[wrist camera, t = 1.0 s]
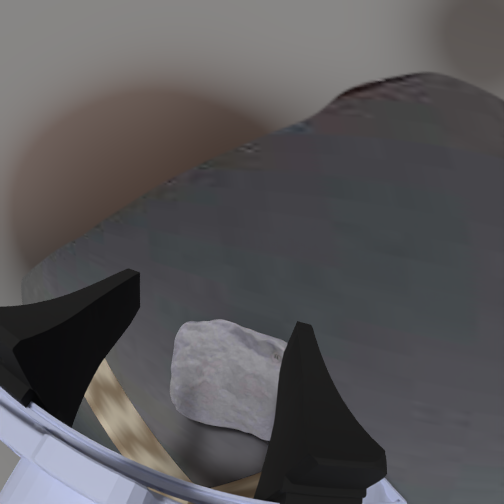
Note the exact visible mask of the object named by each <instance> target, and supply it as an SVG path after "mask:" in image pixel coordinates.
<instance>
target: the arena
mask: <svg viewBox="0 0 504 504" xmlns="http://www.w3.org/2000/svg"><path fill="white" fill-rule="evenodd" d="M84 396H85V398H86V400H87V401H88V403H89V405H90V406H91V408H92V410H93V412H94V413H95V415H96V416H97V418H98V420H99V421H100V423H101V424H102V426H103V428H104V429H105V431H106V432H107V434H108V435H109V437H110V438H111V440H112V441H113V443H114V444H115V445H116V447H117V448H118V450H119V451H120V452H121V454H122V455H123V456H124V457H126V458H128V459H131V460H133V461H135V462H137V463H140V464H142V465H144V466H147V467H149V468H152V469H154V470H157V471H159V472H162V473H164V474H167V475H170V476H173V477H175V478H178V479H181V480H184V481H187V482H190V483H192V482H191V480H190V479H189V478H188V477H187V476H186V475H185V474H184V472H183V471H182V470H181V469H180V468H179V467H178V465H177V464H176V463H175V462H174V461H173V459H172V458H171V457H170V456H169V454H168V453H167V452H166V451H165V449H164V448H163V447H162V445H161V444H160V443H159V442H158V440H157V439H156V438H155V436H154V435H153V433H152V432H151V431H150V429H149V428H148V427H147V425H146V424H145V422H144V421H143V419H142V418H141V417H140V415H139V414H138V412H137V411H136V409H135V408H134V406H133V405H132V403H131V402H130V400H129V399H128V397H127V395H126V394H125V392H124V391H123V389H122V387H121V386H120V384H119V382H118V381H117V379H116V377H115V376H114V374H113V372H112V371H111V369H110V367H109V365H108V363H107V362H106V360H105V358H104V360H103V361H102V363H101V364H100V366H99V368H98V370H97V371H96V373H95V375H94V377H93V379H92V381H91V383H90V385H89V387H88V389H87V391H86V393H85V395H84ZM260 476H261V472H260V473H257V474H255V475H252V476H249V477H246V478H243V479H240V480H237V481H234V482H230V483H227V484H224V485H220V486H217V487H213V488H210V489H214V490H218V491H221V492H225V493H230V494H234V495H238V496H243V497H247V498H252V499H253V498H254V495H255V492H256V489H257V485H258V482H259V479H260ZM148 488H149V487H148ZM149 489H150V490H152V491H154V492H156V493H158V494H161V495H163V496H165V497H168V498H170V499H173V500H175V501H178V502H180V503H183V504H195V503H191V502H188V501H185V500H182V499H179V498H176V497H173V496H170V495H167V494H165V493H162V492H159V491H157V490H154V489H152V488H149Z"/></svg>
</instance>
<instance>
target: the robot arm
mask: <svg viewBox="0 0 504 504" xmlns="http://www.w3.org/2000/svg"><path fill="white" fill-rule="evenodd" d="M139 308H140V272H137V271H134V270H131V269H126V270H124V271H121V272H119V273H117V274H115V275H112V276H110V277H108V278H106V279H104V280H102V281H99V282H97V283H95V284H93V285H90V286H88V287H86V288H83V289H81V290H78V291H76V292H73V293H71V294H68V295H65V296H62V297H58V298H55V299H51V300H47V301H43V302H38V303H34V304H28V305H21V306H8V307H0V440H1V441H2V442H3V443H4V444H5V445H6V446H8V447H9V448H10V449H11V450H12V451H13V452H14V453H16V454H17V455H18V456H19V457H20V458H21V459H20V461H19V462H18V464H17V465H16V467H15V469H14V470H13V472H12V474H11V475H10V477H9V479H8V481H7V482H6V484H5V486H4V488H3V489H2V491H1V493H0V504H183V503H180V502H178V501H175V500H173V499H170V498H168V497H165V496H163V495H161V494H158V493H156V492H154V491H152V490H149V489H148V488H147V487H149V488H152V489H154V490H157V491H159V492H162V493H165V494H167V495H170V496H173V497H176V498H179V499H182V500H185V501H188V502H191V503H195V504H407V502H406V500H405V499H404V498H403V497H402V496H401V495H400V494H399V493H398V492H397V491H396V490H395V488H394V487H393V486H392V485H391V484H390V483H389V482H388V481H387V480H386V479H385V476H386V474H387V463H386V455H385V450H384V449H383V448H382V447H381V446H380V445H379V444H378V443H377V442H376V441H375V440H374V439H372V438H371V437H370V435H369V434H368V433H367V432H366V431H365V430H364V429H363V427H362V426H361V425H360V424H359V423H358V421H357V420H356V419H355V417H354V416H353V414H352V413H351V412H350V410H349V409H348V407H347V406H346V404H345V403H344V401H343V400H342V398H341V396H340V394H339V393H338V391H337V389H336V387H335V385H334V383H333V381H332V379H331V377H330V375H329V373H328V370H327V368H326V366H325V363H324V360H323V358H322V355H321V353H320V350H319V347H318V344H317V341H316V338H315V335H314V331H313V328H312V326H311V325H309V324H306V323H302V322H298V321H297V323H296V326H295V328H294V330H293V333H292V335H291V337H290V340H289V342H288V344H287V346H286V349H285V351H284V353H283V358H282V362H281V367H280V372H279V381H278V391H277V401H276V411H275V419H274V425H273V429H272V434H271V438H270V442H269V446H268V450H267V454H266V458H265V462H264V465H263V469H262V472H261V476H260V479H259V482H258V485H257V489H256V492H255V495H254V498H253V499H252V498H247V497H243V496H238V495H234V494H230V493H225V492H221V491H218V490H214V489H210V488H207V487H203V486H200V485H197V484H193V483H190V482H187V481H184V480H181V479H178V478H175V477H173V476H170V475H167V474H164V473H162V472H159V471H157V470H154V469H152V468H149V467H147V466H144V465H142V464H140V463H137V462H135V461H133V460H131V459H128V458H126V457H124V456H122V455H120V454H118V453H116V452H114V451H112V450H110V449H108V448H106V447H104V446H102V445H100V444H98V443H96V442H95V441H93V440H91V439H89V438H87V437H86V436H84V435H82V434H80V433H79V432H77V431H75V430H74V429H72V425H73V422H74V419H75V416H76V414H77V411H78V409H79V406H80V404H81V402H82V399H83V397H84V395H85V393H86V391H87V389H88V387H89V385H90V383H91V381H92V379H93V377H94V375H95V373H96V371H97V370H98V368H99V366H100V364H101V363H102V361H103V360H104V358H105V357H106V355H107V354H108V353H109V351H110V350H111V349H112V347H113V346H114V345H115V343H116V342H117V341H118V339H119V338H120V337H121V336H122V334H123V333H124V332H125V330H126V329H127V328H128V326H129V325H130V324H131V322H132V320H133V318H134V317H135V315H136V313H137V311H138V310H139ZM141 484H142V485H141ZM143 485H144V486H143ZM145 486H147V487H145ZM398 499H399V500H398Z"/></svg>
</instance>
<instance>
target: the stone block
mask: <svg viewBox="0 0 504 504" xmlns="http://www.w3.org/2000/svg"><path fill="white" fill-rule="evenodd" d="M174 344H175V345H174V352H173V358H172V366H171V373H172V379H171V383H170V396H171V400H172V402H173V403H174V405H175V406H176V409H177V410H178V411H179V412H180V413H181V414H183V415H184V416H186V417H188V418H189V419H192V420H195V421H197V422H202V423H205V424H209V425H214V426H219V427H228V428H233V429H238V430H241V431H243V432H246V433H252V434H253V435H255V436H257V437H259V438H260V439H263V440H268V441H270V438H271V434H272V429H273V425H274V419H275V411H276V401H277V391H278V381H279V372H280V367H281V362H282V358H283V353H284V351H285V349H286V346H287V344H288V343H286V342H285V341H283V340H280V339H277V338H274V337H271V336H268V335H264V334H261V333H258V332H256V331H253V330H252V329H249V328H244V327H242V326H240V325H238V324H236V323H232V322H229V321H226V320H222V319H219V320H216V319H215V320H211V321H202V322H195V321H190V322H186V323H185V324H184V325H182V326H181V328H180V329H179V331H178V333H177V335H176V339H175V342H174Z"/></svg>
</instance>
